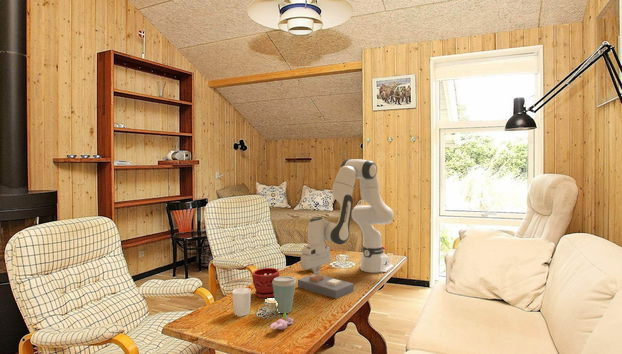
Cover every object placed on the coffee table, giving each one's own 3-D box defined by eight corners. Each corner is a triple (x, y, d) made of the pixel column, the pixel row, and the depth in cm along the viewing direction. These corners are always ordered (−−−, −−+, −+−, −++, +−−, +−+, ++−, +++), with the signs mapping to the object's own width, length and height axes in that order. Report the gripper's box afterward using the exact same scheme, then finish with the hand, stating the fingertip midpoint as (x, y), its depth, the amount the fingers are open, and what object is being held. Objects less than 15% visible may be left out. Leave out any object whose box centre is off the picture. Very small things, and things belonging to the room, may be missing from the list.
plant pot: (265, 288, 195) (265, 266, 195) (284, 293, 188) (284, 270, 187) (247, 296, 184) (246, 272, 184) (267, 301, 177) (266, 276, 176)
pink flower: (285, 323, 156) (264, 332, 143) (286, 308, 156) (265, 315, 143) (298, 326, 153) (278, 335, 140) (299, 311, 154) (279, 318, 140)
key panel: (315, 280, 208) (315, 273, 208) (353, 291, 190) (353, 283, 190) (297, 286, 198) (297, 279, 198) (335, 298, 180) (335, 290, 180)
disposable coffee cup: (267, 310, 166) (267, 277, 166) (287, 304, 173) (287, 272, 172) (280, 318, 158) (280, 282, 157) (301, 312, 164) (301, 278, 164)
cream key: (333, 284, 193) (333, 278, 193) (341, 286, 190) (341, 280, 190) (327, 286, 190) (327, 281, 190) (334, 289, 186) (334, 283, 186)
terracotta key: (316, 279, 201) (316, 274, 201) (323, 281, 198) (323, 276, 198) (309, 282, 198) (309, 276, 198) (316, 284, 194) (316, 278, 194)
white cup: (235, 309, 167) (234, 287, 167) (252, 309, 167) (252, 287, 167) (230, 317, 159) (230, 293, 159) (249, 317, 159) (248, 293, 159)
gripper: (324, 244, 207) (324, 269, 207) (298, 250, 192) (298, 277, 192) (333, 245, 203) (333, 271, 203) (307, 252, 188) (307, 279, 188)
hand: (316, 274), depth 198 cm, fingers closed
